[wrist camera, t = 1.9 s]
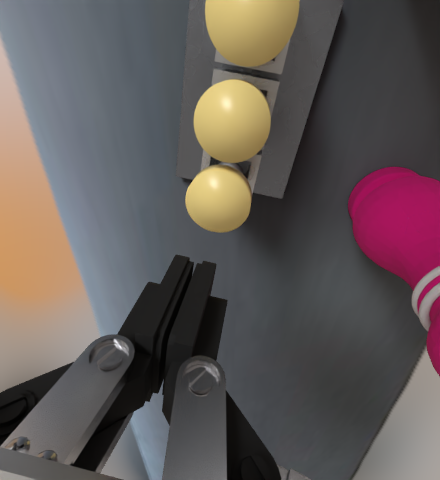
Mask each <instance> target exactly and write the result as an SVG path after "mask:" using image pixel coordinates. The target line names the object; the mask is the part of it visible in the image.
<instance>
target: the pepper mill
mask: <svg viewBox="0 0 440 480" xmlns="http://www.w3.org/2000/svg"><path fill="white" fill-rule="evenodd" d="M348 211H349V214H350V217H351V219H352V221H353V234H354V237H355V240H356V242H357V244H358V245H359V247H360V248H361V250H362V251H363V252H364V253H365V255H366V256H367V257H369V258H370V259H371V260H372V261H374V262H375V263H376V264H377V265H379V266H381V267H382V268H384V269H386V270H388V271H390V272H392V273H394V274H396V275H398V276H399V277H401V278H402V279H403V280H405V281H406V282H407V283H408V284H409V285H410V287H411V288H412V289H413V294H412V300H411V301H412V307H413V310H414V312H415V313H416V315H417V316H418V317H419V319H420V322H421V324H422V325H423V327H424V328H425V329H426V330H427V331H428V336H427V341H426V342H427V351H428V354H429V356H430V359H431V362H432V364H433V367H434V368H435V370H436V371H437V373H438V374H439V376H440V181H438V180H435V179H433V178H428V177H424V176H420V175H418V174H417V173H415V172H414V171H412V170H410V169H407V168H403V167H387V168H383V169H379V170H377V171H374V172H372V173H370V174H369V175H367V176H366V177H364V178H363V179H362V180H361V181H360V182H359V183H358V184H357V185H356V186H355V188H354V189H353V191H352V192H351V195H350V197H349V201H348Z"/></svg>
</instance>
